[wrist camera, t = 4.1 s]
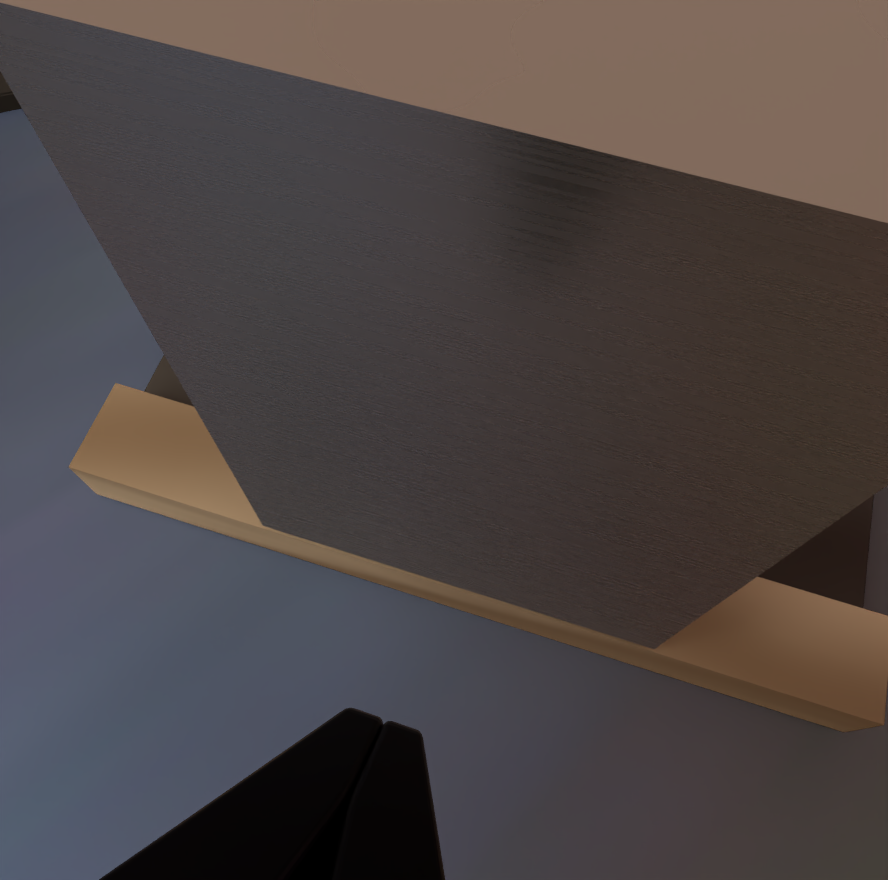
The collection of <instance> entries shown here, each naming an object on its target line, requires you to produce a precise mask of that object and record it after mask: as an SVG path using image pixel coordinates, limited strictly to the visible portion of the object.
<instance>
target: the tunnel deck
mask: <svg viewBox="0 0 888 880" xmlns="http://www.w3.org/2000/svg"><path fill="white" fill-rule="evenodd" d="M69 468H70V469H71V470H72V471H73V472H74V473H75V474H76V475H77V476H78V477H80V478H81V479H82V480H83V481H84V482H85V483H86V484H87V485H88V486H89V487H90V488H91V489H92V490H93V491H94V492H95V493H96V494H98V495H101V496H105V497H108V498H111V499H114V500H117V501H120V502H123V503H126V504H130V505H133V506H136V507H139V508H142V509H145V510H148V511H152V512H155V513H158V514H161V515H164V516H167V517H170V518H173V519H177V520H180V521H183V522H186V523H189V524H192V525H195V526H199V527H202V528H205V529H208V530H211V531H214V532H217V533H220V534H224V535H227V536H230V537H233V538H236V539H239V540H242V541H246V542H249V543H252V544H255V545H258V546H261V547H264V548H268V549H271V550H274V551H277V552H280V553H283V554H286V555H289V556H293V557H296V558H299V559H302V560H305V561H308V562H311V563H315V564H318V565H321V566H324V567H327V568H330V569H333V570H336V571H340V572H343V573H346V574H349V575H352V576H355V577H358V578H362V579H365V580H368V581H371V582H374V583H377V584H380V585H384V586H387V587H390V588H393V589H396V590H399V591H402V592H405V593H409V594H412V595H415V596H418V597H421V598H424V599H427V600H431V601H434V602H437V603H440V604H443V605H446V606H449V607H452V608H456V609H459V610H462V611H465V612H468V613H471V614H474V615H478V616H481V617H484V618H487V619H490V620H493V621H496V622H499V623H503V624H506V625H509V626H512V627H515V628H518V629H521V630H525V631H528V632H531V633H534V634H537V635H540V636H543V637H547V638H550V639H553V640H556V641H559V642H562V643H565V644H568V645H572V646H575V647H578V648H581V649H584V650H587V651H590V652H594V653H597V654H600V655H603V656H606V657H609V658H612V659H615V660H619V661H622V662H625V663H628V664H631V665H634V666H637V667H641V668H644V669H647V670H650V671H653V672H656V673H659V674H663V675H666V676H669V677H672V678H675V679H678V680H681V681H684V682H688V683H691V684H694V685H697V686H700V687H703V688H706V689H710V690H713V691H716V692H719V693H722V694H725V695H728V696H731V697H735V698H738V699H741V700H744V701H747V702H750V703H753V704H757V705H760V706H763V707H766V708H769V709H772V710H775V711H778V712H782V713H785V714H788V715H791V716H794V717H797V718H800V719H804V720H807V721H810V722H813V723H816V724H819V725H822V726H826V727H829V728H832V729H835V730H838V731H841V732H849V731H854V730H860V729H865V728H871V727H876V726H881V725H884V720H885V707H886V694H887V682H888V616H887V615H883V614H880V613H877V612H873V611H870V610H867V609H863V604H864V593H865V582H866V572H867V561H868V551H869V540H870V529H871V519H872V508H873V498H874V495H873V496H871V497H870V498H868V499H867V500H866V501H864V502H863V503H861V504H860V505H858V506H857V507H856V508H854V509H853V510H851V511H850V512H848V513H847V514H846V515H844V516H843V517H841V518H840V519H839V520H837V521H836V522H834V523H833V524H831V525H830V526H829V527H827V528H826V529H824V530H823V531H821V532H820V533H819V534H817V535H816V536H814V537H813V538H812V539H810V540H809V541H807V542H806V543H804V544H803V545H802V546H800V547H799V548H797V549H796V550H794V551H793V552H792V553H790V554H789V555H787V556H786V557H785V558H783V559H782V560H780V561H779V562H777V563H776V564H775V565H773V566H772V567H770V568H769V569H767V570H766V571H765V572H763V573H762V574H760V575H759V576H758V577H756V578H755V579H753V580H752V581H750V582H749V583H748V584H746V585H745V586H743V587H742V588H740V589H739V590H738V591H736V592H735V593H733V594H732V595H731V596H729V597H728V598H726V599H725V600H723V601H722V602H721V603H719V604H718V605H716V606H715V607H713V608H712V609H711V610H709V611H708V612H706V613H705V614H704V615H702V616H701V617H699V618H698V619H696V620H695V621H694V622H692V623H691V624H689V625H688V626H686V627H685V628H684V629H682V630H681V631H679V632H678V633H677V634H675V635H674V636H672V637H671V638H669V639H668V640H667V641H665V642H664V643H662V644H661V645H659V646H658V647H657V648H655V649H651V648H648V647H645V646H642V645H639V644H635V643H632V642H629V641H626V640H623V639H620V638H616V637H613V636H610V635H607V634H604V633H601V632H597V631H594V630H591V629H588V628H585V627H582V626H578V625H575V624H572V623H569V622H566V621H563V620H560V619H556V618H553V617H550V616H547V615H544V614H541V613H537V612H534V611H531V610H528V609H525V608H522V607H518V606H515V605H512V604H509V603H506V602H503V601H499V600H496V599H493V598H490V597H487V596H484V595H480V594H477V593H474V592H471V591H468V590H465V589H461V588H458V587H455V586H452V585H449V584H446V583H442V582H439V581H436V580H433V579H430V578H427V577H423V576H420V575H417V574H414V573H411V572H408V571H404V570H401V569H398V568H395V567H392V566H389V565H385V564H382V563H379V562H376V561H373V560H370V559H366V558H363V557H360V556H357V555H354V554H351V553H347V552H344V551H341V550H338V549H335V548H332V547H328V546H325V545H322V544H319V543H316V542H313V541H309V540H306V539H303V538H300V537H297V536H294V535H290V534H287V533H284V532H281V531H278V530H275V529H271V528H268V527H265V526H263V525H262V523H261V522H260V520H259V518H258V516H257V515H256V513H255V511H254V510H253V508H252V506H251V504H250V503H249V501H248V499H247V497H246V496H245V494H244V492H243V490H242V489H241V487H240V485H239V484H238V482H237V480H236V478H235V477H234V475H233V473H232V471H231V470H230V468H229V466H228V464H227V463H226V461H225V459H224V458H223V456H222V454H221V452H220V451H219V449H218V447H217V445H216V444H215V442H214V440H213V439H212V437H211V435H210V433H209V432H208V430H207V428H206V426H205V425H204V423H203V421H202V419H201V418H200V416H199V414H198V413H197V411H196V409H195V407H194V406H193V404H192V402H191V400H190V399H189V397H188V395H187V393H186V392H185V390H184V388H183V387H182V385H181V383H180V381H179V380H178V378H177V376H176V374H175V373H174V371H173V369H172V368H171V366H170V364H169V362H168V361H167V359H166V357H165V355H164V356H163V358H162V359H161V361H160V363H159V365H158V367H157V369H156V371H155V372H154V374H153V376H152V378H151V380H150V382H149V384H148V385H147V387H146V389H145V391H144V392H143V391H140V390H137V389H133V388H130V387H127V386H124V385H120V384H117V383H115V385H114V387H113V389H112V390H111V392H110V394H109V396H108V398H107V399H106V401H105V403H104V405H103V407H102V408H101V410H100V412H99V414H98V415H97V417H96V419H95V421H94V423H93V424H92V426H91V428H90V430H89V432H88V433H87V435H86V437H85V439H84V440H83V442H82V444H81V446H80V448H79V449H78V451H77V453H76V455H75V457H74V458H73V460H72V462H71V464H70V465H69Z"/></svg>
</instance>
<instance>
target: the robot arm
mask: <svg viewBox="0 0 888 880" xmlns="http://www.w3.org/2000/svg"><path fill="white" fill-rule="evenodd" d="M99 880H445V875H444V869H443V863H442V856H441V850H440V843H439V837H438V831H437V824H436V818H435V812H434V805H433V799H432V792H431V786H430V780H429V773H428V767H427V761H426V754H425V748H424V741H423V737H422V734H421V733H420V731H418V730H416V729H414V728H411V727H408V726H405V725H402V724H399V723H396V722H393V721H387V722H386V723H385V724H384V725H383V722H382V719H381V718H380V717H378V716H375V715H372V714H369V713H366V712H363V711H360V710H357V709H355V708H347V709H344V710H343V711H341V712H340V713H338V714H337V715H336V716H334V717H333V718H331V719H330V720H328V721H327V722H325V723H324V724H323V725H321V726H320V727H318V728H317V729H315V730H314V731H313V732H311V733H310V734H308V735H307V736H305V737H304V738H302V739H301V740H300V741H298V742H297V743H295V744H294V745H292V746H291V747H289V748H288V749H287V750H285V751H284V752H282V753H281V754H279V755H278V756H276V757H275V758H274V759H272V760H271V761H269V762H268V763H266V764H265V765H264V766H262V767H261V768H259V769H258V770H256V771H255V772H253V773H252V774H251V775H249V776H248V777H246V778H245V779H243V780H242V781H240V782H239V783H238V784H236V785H235V786H233V787H232V788H230V789H229V790H227V791H226V792H225V793H223V794H222V795H220V796H219V797H217V798H216V799H215V800H213V801H212V802H210V803H209V804H207V805H206V806H204V807H203V808H202V809H200V810H199V811H197V812H196V813H194V814H193V815H191V816H190V817H189V818H187V819H186V820H184V821H183V822H181V823H180V824H178V825H177V826H176V827H174V828H173V829H171V830H170V831H168V832H167V833H165V834H164V835H163V836H161V837H160V838H158V839H157V840H155V841H154V842H152V843H151V844H150V845H148V846H147V847H145V848H144V849H142V850H141V851H139V852H138V853H137V854H135V855H134V856H132V857H131V858H129V859H128V860H127V861H125V862H124V863H122V864H121V865H119V866H118V867H116V868H115V869H114V870H112V871H111V872H109V873H108V874H106V875H105V876H103V877H102V878H101V879H99Z"/></svg>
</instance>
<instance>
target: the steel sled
mask: <svg viewBox="0 0 888 880" xmlns="http://www.w3.org/2000/svg"><path fill="white" fill-rule="evenodd" d="M0 71H1V73H2V75H3V77H4V78H5V80H6V82H7V84H8V85H9V87H10V89H11V90H12V92H13V94H14V96H15V97H16V99H17V101H18V103H19V104H20V106H21V108H22V110H23V111H24V113H25V115H26V116H27V118H28V120H29V122H30V123H31V125H32V127H33V129H34V130H35V132H36V134H37V135H38V137H39V139H40V141H41V142H42V144H43V146H44V148H45V149H46V151H47V153H48V155H49V156H50V158H51V160H52V161H53V163H54V165H55V167H56V168H57V170H58V172H59V174H60V175H61V177H62V179H63V180H64V182H65V184H66V186H67V187H68V189H69V191H70V193H71V194H72V196H73V198H74V200H75V201H76V203H77V205H78V206H79V208H80V210H81V212H82V213H83V215H84V217H85V219H86V220H87V222H88V224H89V226H90V227H91V229H92V231H93V232H94V234H95V236H96V238H97V239H98V241H99V243H100V245H101V246H102V248H103V250H104V251H105V253H106V255H107V257H108V258H109V260H110V262H111V264H112V265H113V267H114V269H115V271H116V272H117V274H118V276H119V277H120V279H121V281H122V283H123V284H124V286H125V288H126V290H127V291H128V293H129V295H130V297H131V298H132V300H133V302H134V303H135V305H136V307H137V309H138V310H139V312H140V314H141V316H142V317H143V319H144V321H145V322H146V324H147V326H148V328H149V329H150V331H151V333H152V335H153V336H154V338H155V340H156V342H157V343H158V345H159V347H160V348H161V350H162V352H163V354H164V355H165V357H166V359H167V361H168V362H169V364H170V366H171V368H172V369H173V371H174V373H175V374H176V376H177V378H178V380H179V381H180V383H181V385H182V387H183V388H184V390H185V392H186V393H187V395H188V397H189V399H190V400H191V402H192V404H193V406H194V407H195V409H196V411H197V413H198V414H199V416H200V418H201V419H202V421H203V423H204V425H205V426H206V428H207V430H208V432H209V433H210V435H211V437H212V439H213V440H214V442H215V444H216V445H217V447H218V449H219V451H220V452H221V454H222V456H223V458H224V459H225V461H226V463H227V464H228V466H229V468H230V470H231V471H232V473H233V475H234V477H235V478H236V480H237V482H238V484H239V485H240V487H241V489H242V490H243V492H244V494H245V496H246V497H247V499H248V501H249V503H250V504H251V506H252V508H253V510H254V511H255V513H256V515H257V516H258V518H259V520H260V522H261V523H262V525H263V526H265V527H268V528H271V529H275V530H278V531H281V532H284V533H287V534H290V535H294V536H297V537H300V538H303V539H306V540H309V541H313V542H316V543H319V544H322V545H325V546H328V547H332V548H335V549H338V550H341V551H344V552H347V553H351V554H354V555H357V556H360V557H363V558H366V559H370V560H373V561H376V562H379V563H382V564H385V565H389V566H392V567H395V568H398V569H401V570H404V571H408V572H411V573H414V574H417V575H420V576H423V577H427V578H430V579H433V580H436V581H439V582H442V583H446V584H449V585H452V586H455V587H458V588H461V589H465V590H468V591H471V592H474V593H477V594H480V595H484V596H487V597H490V598H493V599H496V600H499V601H503V602H506V603H509V604H512V605H515V606H518V607H522V608H525V609H528V610H531V611H534V612H537V613H541V614H544V615H547V616H550V617H553V618H556V619H560V620H563V621H566V622H569V623H572V624H575V625H578V626H582V627H585V628H588V629H591V630H594V631H597V632H601V633H604V634H607V635H610V636H613V637H616V638H620V639H623V640H626V641H629V642H632V643H635V644H639V645H642V646H645V647H648V648H651V649H655V648H657V647H658V646H659V645H661V644H662V643H664V642H665V641H667V640H668V639H669V638H671V637H672V636H674V635H675V634H677V633H678V632H679V631H681V630H682V629H684V628H685V627H686V626H688V625H689V624H691V623H692V622H694V621H695V620H696V619H698V618H699V617H701V616H702V615H704V614H705V613H706V612H708V611H709V610H711V609H712V608H713V607H715V606H716V605H718V604H719V603H721V602H722V601H723V600H725V599H726V598H728V597H729V596H731V595H732V594H733V593H735V592H736V591H738V590H739V589H740V588H742V587H743V586H745V585H746V584H748V583H749V582H750V581H752V580H753V579H755V578H756V577H758V576H759V575H760V574H762V573H763V572H765V571H766V570H767V569H769V568H770V567H772V566H773V565H775V564H776V563H777V562H779V561H780V560H782V559H783V558H785V557H786V556H787V555H789V554H790V553H792V552H793V551H794V550H796V549H797V548H799V547H800V546H802V545H803V544H804V543H806V542H807V541H809V540H810V539H812V538H813V537H814V536H816V535H817V534H819V533H820V532H821V531H823V530H824V529H826V528H827V527H829V526H830V525H831V524H833V523H834V522H836V521H837V520H839V519H840V518H841V517H843V516H844V515H846V514H847V513H848V512H850V511H851V510H853V509H854V508H856V507H857V506H858V505H860V504H861V503H863V502H864V501H866V500H867V499H868V498H870V497H871V496H873V495H874V494H875V493H877V492H878V491H880V490H881V489H883V488H884V487H885V486H887V485H888V0H0Z"/></svg>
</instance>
